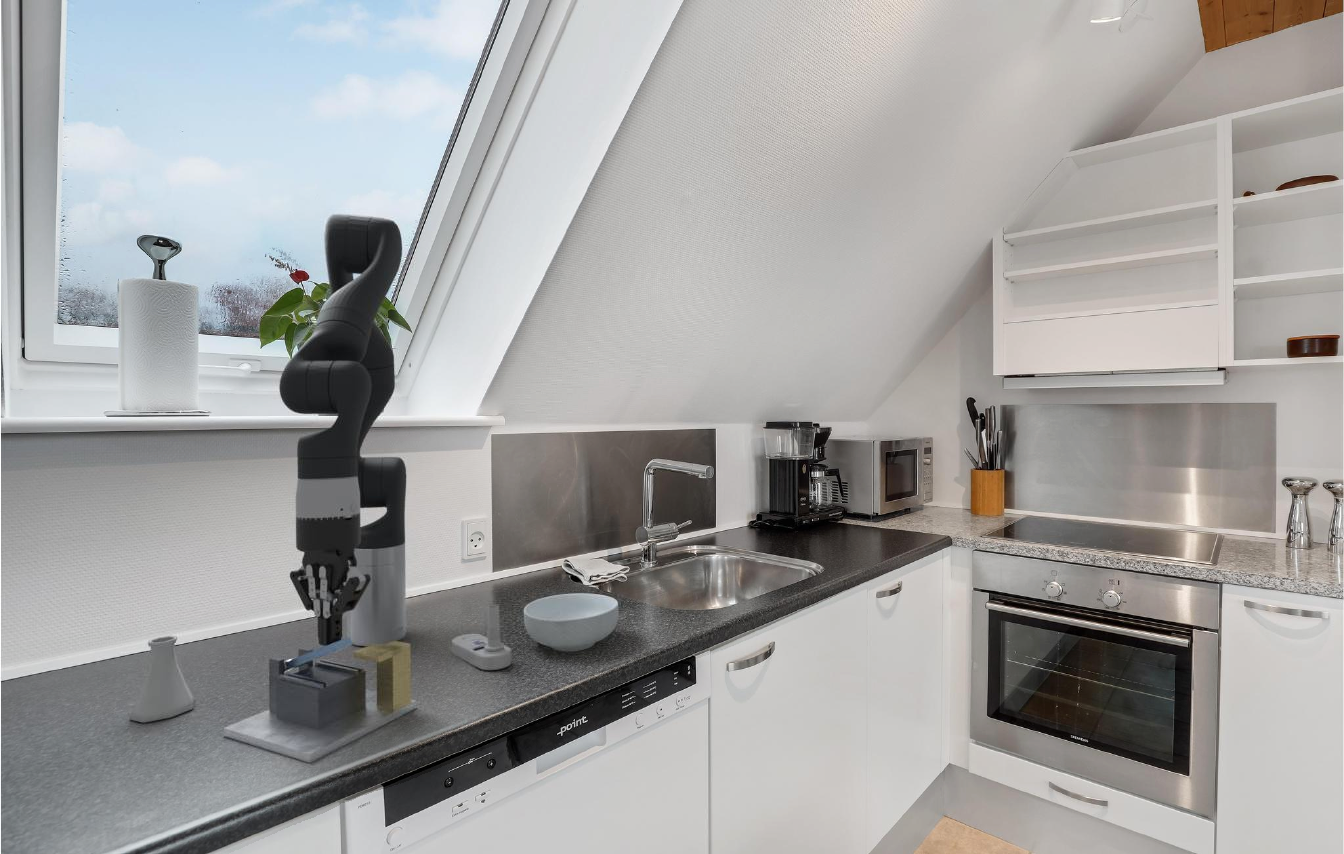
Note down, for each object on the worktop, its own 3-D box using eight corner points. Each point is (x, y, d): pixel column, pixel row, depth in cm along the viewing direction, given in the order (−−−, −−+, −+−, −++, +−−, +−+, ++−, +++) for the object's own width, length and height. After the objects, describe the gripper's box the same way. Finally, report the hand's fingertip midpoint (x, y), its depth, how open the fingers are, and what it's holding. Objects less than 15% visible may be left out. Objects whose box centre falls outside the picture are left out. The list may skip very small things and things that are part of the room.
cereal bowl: (556, 625, 127) (556, 589, 127) (634, 634, 121) (633, 597, 121) (503, 653, 111) (503, 612, 111) (589, 666, 105) (589, 623, 105)
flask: (187, 696, 94) (186, 627, 94) (203, 709, 90) (202, 637, 90) (122, 713, 89) (122, 640, 89) (136, 729, 84) (135, 652, 84)
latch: (354, 713, 86) (353, 651, 86) (386, 697, 91) (386, 639, 91) (378, 719, 84) (378, 656, 84) (410, 703, 89) (410, 643, 89)
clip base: (223, 735, 82) (223, 672, 82) (336, 688, 97) (335, 634, 96) (309, 762, 75) (309, 693, 75) (416, 707, 90) (416, 650, 90)
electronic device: (474, 591, 117) (516, 606, 106) (475, 646, 116) (517, 666, 105) (445, 597, 113) (485, 612, 102) (446, 653, 113) (487, 675, 102)
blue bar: (279, 673, 87) (277, 663, 88) (299, 666, 90) (296, 656, 90) (335, 652, 83) (332, 641, 83) (354, 645, 86) (351, 634, 86)
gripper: (267, 513, 85) (269, 646, 85) (338, 517, 79) (340, 659, 79) (320, 507, 92) (321, 630, 92) (388, 510, 86) (390, 641, 86)
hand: (330, 643), depth 85 cm, fingers closed
